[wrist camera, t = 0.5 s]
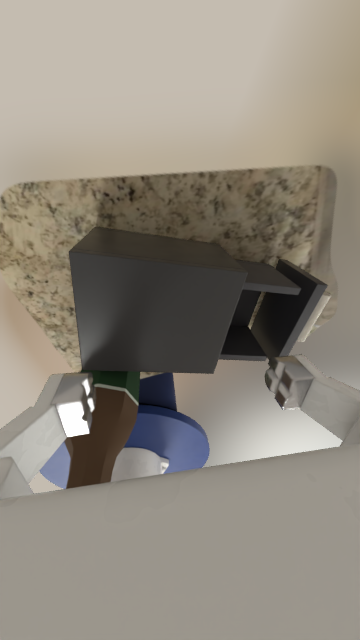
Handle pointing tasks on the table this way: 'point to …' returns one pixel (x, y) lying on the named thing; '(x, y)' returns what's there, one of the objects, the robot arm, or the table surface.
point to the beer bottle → (104, 428)
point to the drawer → (273, 311)
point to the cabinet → (152, 301)
